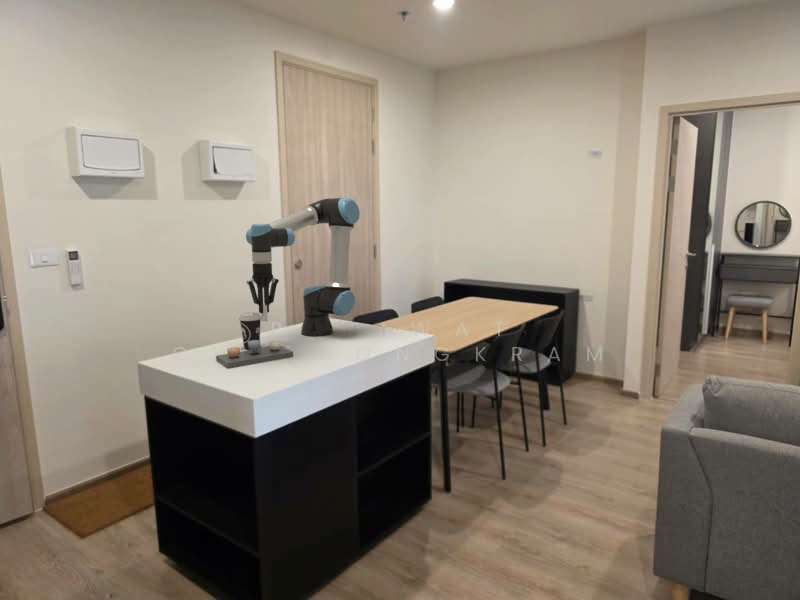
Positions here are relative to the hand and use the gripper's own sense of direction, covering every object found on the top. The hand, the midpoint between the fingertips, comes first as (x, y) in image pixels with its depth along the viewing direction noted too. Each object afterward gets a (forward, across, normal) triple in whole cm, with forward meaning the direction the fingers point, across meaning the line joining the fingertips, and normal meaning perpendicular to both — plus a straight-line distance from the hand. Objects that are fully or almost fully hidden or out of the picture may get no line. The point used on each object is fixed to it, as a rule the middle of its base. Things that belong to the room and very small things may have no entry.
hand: (264, 320), depth 220 cm
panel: (+15, +4, 0) cm, 16 cm away
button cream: (+14, -4, 0) cm, 14 cm away
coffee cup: (+15, -1, -18) cm, 24 cm away
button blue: (+12, +4, 0) cm, 13 cm away
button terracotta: (+14, +13, 0) cm, 19 cm away
